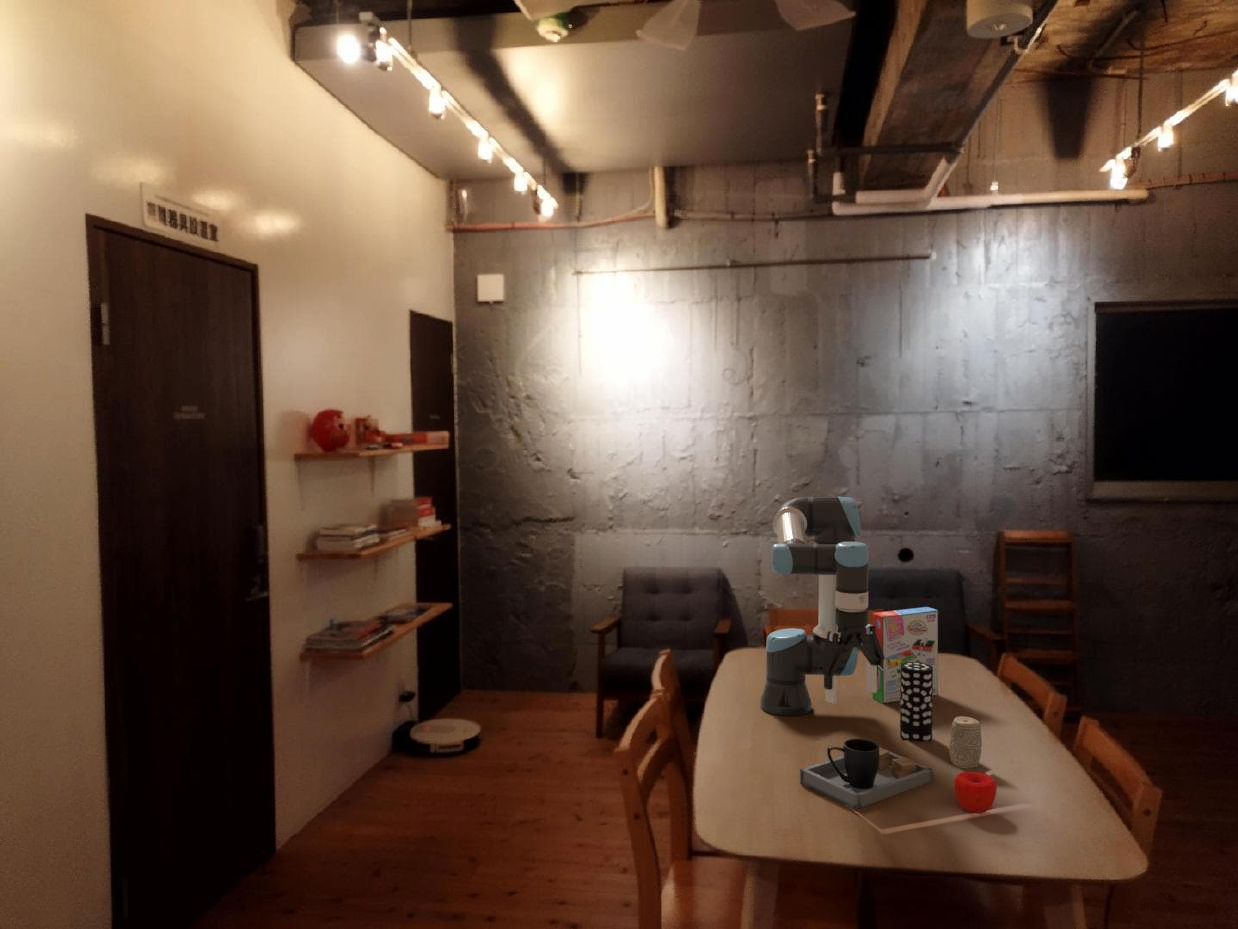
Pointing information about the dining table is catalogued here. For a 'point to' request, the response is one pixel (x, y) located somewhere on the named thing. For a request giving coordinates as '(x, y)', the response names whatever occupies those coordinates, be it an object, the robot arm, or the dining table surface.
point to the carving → (965, 742)
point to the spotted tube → (916, 701)
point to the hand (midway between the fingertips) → (851, 696)
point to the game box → (905, 647)
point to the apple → (975, 791)
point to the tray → (835, 788)
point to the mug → (858, 762)
